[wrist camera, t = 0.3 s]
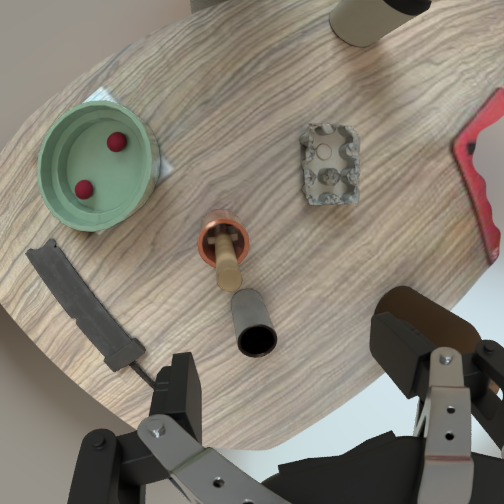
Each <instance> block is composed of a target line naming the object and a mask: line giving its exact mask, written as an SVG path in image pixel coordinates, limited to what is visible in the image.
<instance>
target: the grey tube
mask: <svg viewBox="0 0 504 504" xmlns="http://www.w3.org/2000/svg"><path fill="white" fill-rule="evenodd" d="M231 309H232V315H233V321H234V327H235V334H236V340H237V345H238V348H239V350H240V351H241V352H242V353H243V354H244V355H246V356H249V357H254V358H257V357H262V356H265V355H267V354H269V353H270V352H271V351H272V350H273V349H274V348H275V346H276V344H277V335H276V332H275V329H274V327H273V324H272V322H271V319H270V317H269V314H268V312H267V309H266V307H265V304H264V302H263V299H262V297H261V296H260V294H259V293H258V292H256V291H255V290H252V289H244V290H241V291H239V292H237V293H236V294H235V295H234V296H233V298H232V301H231Z"/></svg>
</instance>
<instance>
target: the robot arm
mask: <svg viewBox="0 0 504 504" xmlns="http://www.w3.org/2000/svg"><path fill="white" fill-rule="evenodd" d="M370 351H371V354H372V356H373V357H374V358H375V360H376V361H377V362H378V363H379V364H380V366H381V367H382V368H383V369H384V370H385V372H386V373H387V374H388V375H389V377H390V378H391V379H392V380H393V382H394V383H395V384H396V385H397V386H398V388H399V389H400V390H401V391H402V393H403V394H404V395H405V396H406V398H407V399H410V398H413V397H415V396H418V397H419V401H418V405H417V414H416V419H415V426H414V431H413V436H398V437H396V436H395V434H394V433H393V431H392V430H391V431H389V432H386V433H384V434H381V435H379V436H376V437H374V438H371V439H368V440H366V441H365V442H363V443H361V444H360V445H358V446H356V447H355V448H353V449H352V450H350V451H348V452H346V453H344V454H342V455H339V456H332V457H319V458H307V459H303V460H299V461H295V462H290V463H286V464H281V465H278V470H279V473H277V474H275V475H273V476H271V477H269V478H267V479H266V480H264V481H263V482H262V483H259V482H257V481H256V480H254V479H253V478H251V477H250V476H249V475H247V474H246V473H245V472H243V471H242V470H240V469H239V468H238V467H237V466H235V465H234V464H233V463H231V462H230V461H229V460H227V459H226V458H225V457H223V456H222V455H221V454H220V453H218V452H217V451H216V450H215V449H213V448H211V447H207V448H204V447H203V446H202V391H201V384H200V380H199V376H198V373H197V370H196V366H195V363H194V359H193V356H192V353H191V352H185V353H177V354H173V358H172V364H171V366H165V367H163V368H162V369H161V370H160V371H159V373H158V374H157V377H156V382H155V387H154V392H153V396H152V402H151V407H150V412H149V417H147V418H145V419H144V420H142V421H141V423H140V424H139V426H138V428H137V430H136V431H134V432H131V433H128V434H124V435H120V436H115V434H114V433H113V432H112V431H110V430H108V429H96V430H93V431H91V432H90V433H88V434H87V435H86V436H85V437H84V439H83V441H82V444H81V447H80V451H79V455H78V459H77V463H76V467H75V471H74V475H73V480H72V484H71V488H70V493H69V498H68V503H67V504H145V494H146V491H145V490H146V484H149V483H153V482H156V481H160V480H164V479H168V480H169V481H170V483H171V484H172V485H173V486H174V487H175V488H176V489H177V490H178V491H179V492H180V493H181V494H182V495H183V496H184V497H185V498H186V499H187V500H188V501H189V502H190V503H191V504H504V348H503V347H502V346H501V345H500V344H498V343H497V342H495V341H492V340H481V341H479V342H478V343H477V344H476V346H475V349H474V352H471V353H466V354H460V353H459V352H458V351H457V350H455V349H453V348H450V347H440V348H438V347H437V346H436V345H435V344H433V343H432V342H431V341H430V340H429V339H428V338H427V337H425V336H424V335H423V334H421V332H420V331H418V330H417V329H416V328H415V327H414V326H413V325H411V324H410V323H409V322H406V321H404V320H401V319H397V318H396V317H395V316H393V315H392V314H391V313H390V312H384V313H381V314H377V315H374V316H373V317H372V319H371V332H370ZM492 381H493V382H494V383H495V384H496V385H497V386H498V387H499V388H501V390H502V392H503V399H502V400H501V399H500V398H499V397H498V396H497V395H496V394H495V393H494V392H493V391H492V390H491V389H490V388H489V386H490V384H491V382H492ZM471 414H472V415H473V416H474V417H475V418H476V420H477V421H478V422H479V423H480V425H481V426H482V427H483V428H484V430H485V431H486V432H487V433H488V434H489V436H490V437H491V438H492V440H493V441H494V442H495V443H496V445H497V446H498V447H499V449H500V450H501V455H502V459H501V458H496V457H492V456H487V455H483V454H479V453H475V452H471Z"/></svg>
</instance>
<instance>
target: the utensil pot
mask: <svg viewBox="0 0 504 504" xmlns="http://www.w3.org/2000/svg"><path fill="white" fill-rule="evenodd" d="M218 224H225V225H226V226H234V227H235V230H236V232H237V236H238V240H235V241H232V244H233V248H234V251H235V255H236V258H237V262H238V264H239V263H241V262H242V261H243V259H244V258H245V257H246V255H247V253H248V249H249V245H250V244H249V236H248V234H247V232H246V230H245V228H244V227H243V225H242V223H241V221H240V220H239V218H238V216H237V215H235V214H234V213H233V212H231V211H229V210H226V209H217V210H214V211H211V212H210V213H208V214H207V215H206V216H205V217H204V219H203V221H202V223H201V227H200V232H199V237H198V242H197V245H198V250H199V254H200V255H201V257H202V259H203V260H204V261H205V262H206V263H207V264H209V265H210V266H212V267H215V268H216V255H215V244H208V239H207V236H208V229H213V228H215V227H216V225H218Z"/></svg>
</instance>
